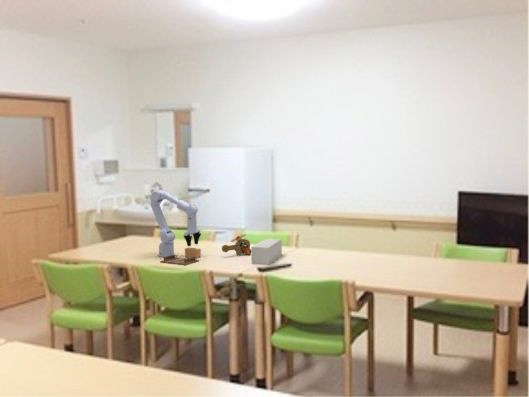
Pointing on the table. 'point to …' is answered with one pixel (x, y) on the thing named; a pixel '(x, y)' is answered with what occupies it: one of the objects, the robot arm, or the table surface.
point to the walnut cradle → (179, 260)
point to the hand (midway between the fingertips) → (192, 245)
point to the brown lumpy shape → (236, 247)
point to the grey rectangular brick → (266, 251)
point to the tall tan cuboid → (192, 252)
